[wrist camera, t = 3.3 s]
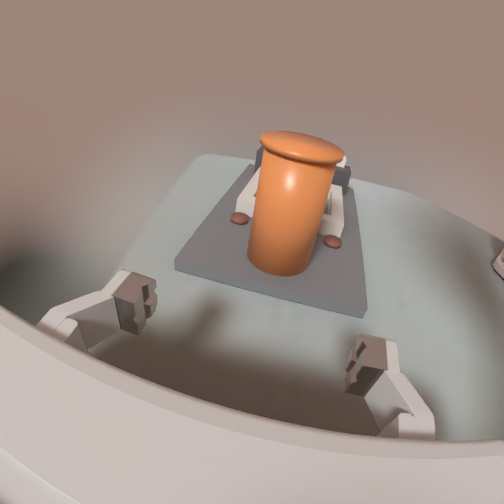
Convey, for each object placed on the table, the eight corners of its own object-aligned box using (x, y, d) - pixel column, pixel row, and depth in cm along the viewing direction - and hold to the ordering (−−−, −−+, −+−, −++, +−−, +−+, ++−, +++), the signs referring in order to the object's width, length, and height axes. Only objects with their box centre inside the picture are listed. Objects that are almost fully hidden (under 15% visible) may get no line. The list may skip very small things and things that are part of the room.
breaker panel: (248, 170, 42) (254, 134, 39) (351, 195, 40) (361, 159, 37) (174, 269, 23) (175, 206, 20) (362, 318, 21) (390, 259, 18)
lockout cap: (274, 230, 27) (294, 129, 22) (325, 261, 25) (357, 153, 20) (228, 250, 24) (243, 133, 19) (282, 289, 21) (314, 162, 16)
